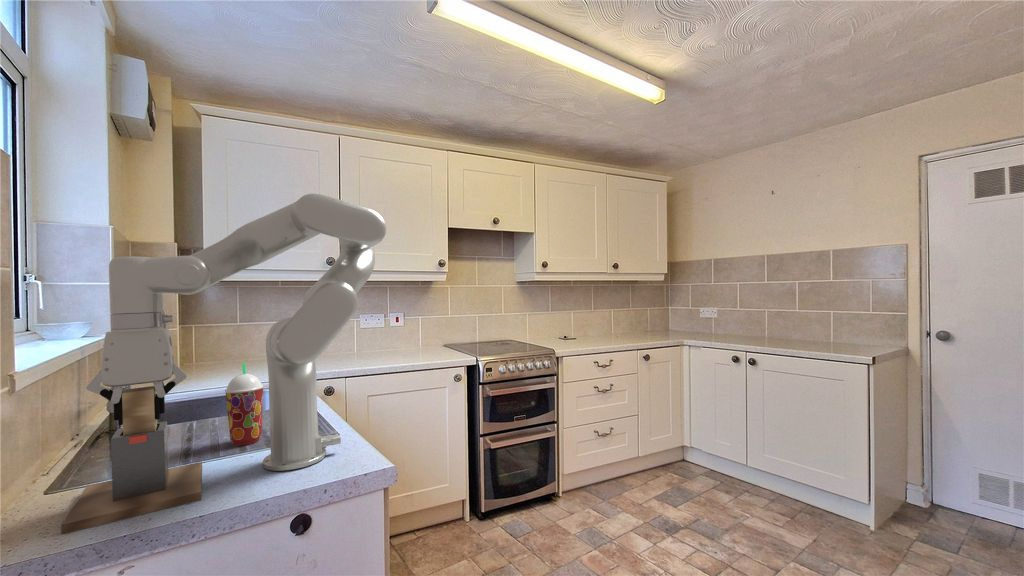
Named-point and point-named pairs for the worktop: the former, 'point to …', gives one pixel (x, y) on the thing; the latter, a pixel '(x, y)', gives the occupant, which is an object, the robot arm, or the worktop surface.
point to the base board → (133, 500)
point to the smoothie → (244, 408)
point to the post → (138, 410)
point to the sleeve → (139, 462)
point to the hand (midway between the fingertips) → (140, 419)
